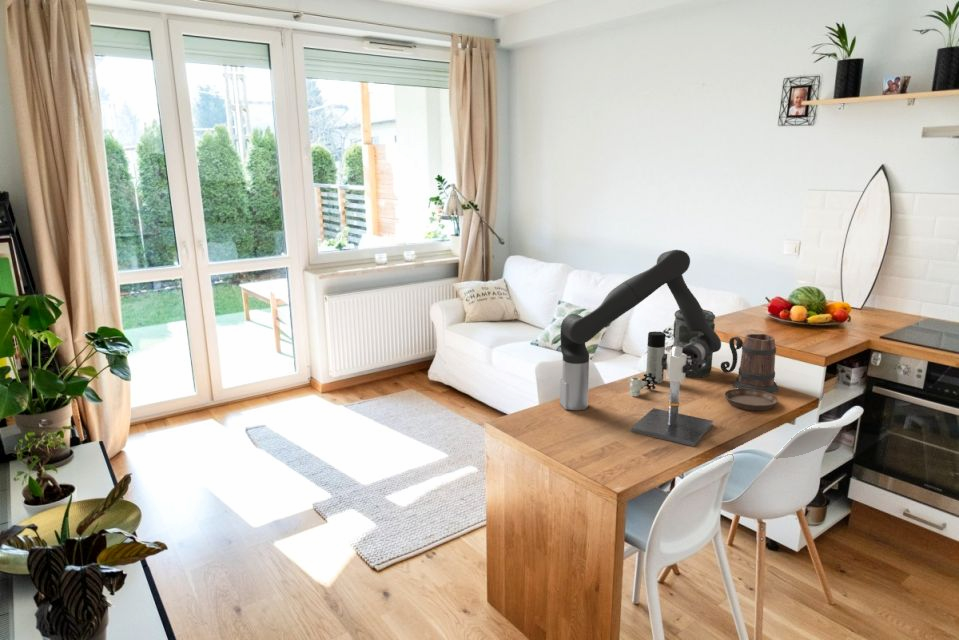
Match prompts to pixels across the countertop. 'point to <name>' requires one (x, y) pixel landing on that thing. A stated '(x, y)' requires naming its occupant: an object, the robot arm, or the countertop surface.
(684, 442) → the pipe stand
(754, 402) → the plant saucer
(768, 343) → the tankard
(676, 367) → the sleeve
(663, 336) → the spray can
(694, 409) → the countertop surface
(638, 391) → the valve
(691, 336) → the canister
